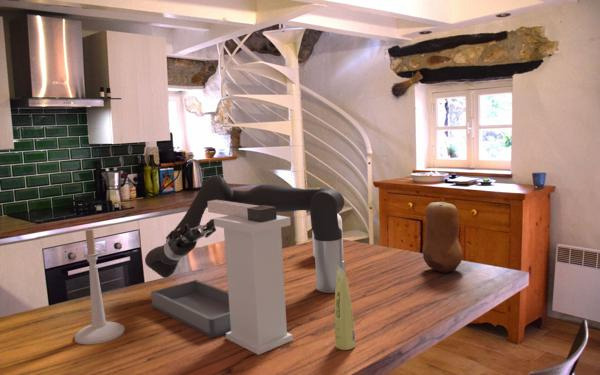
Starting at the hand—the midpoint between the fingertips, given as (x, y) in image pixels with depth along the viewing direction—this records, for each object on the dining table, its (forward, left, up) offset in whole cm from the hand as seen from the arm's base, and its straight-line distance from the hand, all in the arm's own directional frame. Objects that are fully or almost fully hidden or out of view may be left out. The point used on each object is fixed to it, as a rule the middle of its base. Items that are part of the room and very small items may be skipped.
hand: (201, 224), depth 145 cm
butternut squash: (-83, -16, -28) cm, 89 cm away
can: (-50, -51, -28) cm, 77 cm away
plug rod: (-10, +17, +5) cm, 20 cm away
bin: (+1, -2, -27) cm, 28 cm away
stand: (-12, +22, -27) cm, 37 cm away
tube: (-32, +32, -28) cm, 53 cm away
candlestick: (+30, +4, -28) cm, 41 cm away
